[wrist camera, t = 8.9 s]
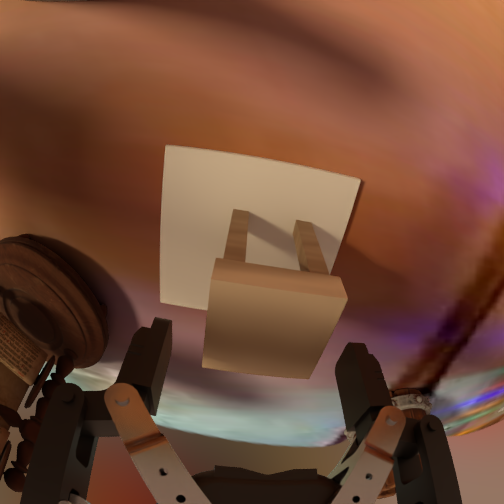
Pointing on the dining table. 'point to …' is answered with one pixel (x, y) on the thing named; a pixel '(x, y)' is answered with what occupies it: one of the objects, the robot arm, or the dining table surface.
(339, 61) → the dining table surface
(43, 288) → the scroll
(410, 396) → the mug
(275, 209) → the mat
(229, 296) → the stool
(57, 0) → the hip flask
